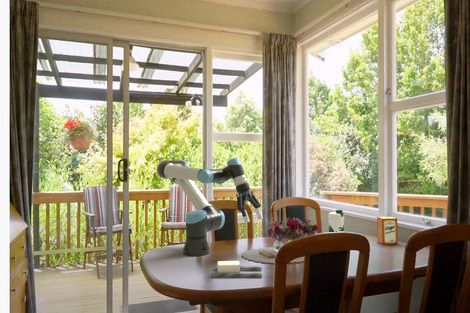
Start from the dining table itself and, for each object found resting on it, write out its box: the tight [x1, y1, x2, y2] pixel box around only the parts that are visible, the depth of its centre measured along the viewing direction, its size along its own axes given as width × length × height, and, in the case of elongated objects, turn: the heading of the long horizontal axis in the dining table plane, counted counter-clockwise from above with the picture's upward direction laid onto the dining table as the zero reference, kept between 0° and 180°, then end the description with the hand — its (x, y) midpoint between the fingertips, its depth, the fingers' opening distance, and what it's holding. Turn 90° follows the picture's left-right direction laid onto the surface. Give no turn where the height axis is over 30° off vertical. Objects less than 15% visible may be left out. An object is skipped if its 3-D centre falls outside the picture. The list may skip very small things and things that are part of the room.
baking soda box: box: [376, 216, 399, 245], centre depth 222 cm, size 10×6×16 cm
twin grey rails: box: [211, 265, 263, 279], centre depth 164 cm, size 22×12×2 cm, turn 87°
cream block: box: [217, 260, 241, 273], centre depth 164 cm, size 10×7×5 cm
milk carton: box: [327, 209, 345, 233], centre depth 229 cm, size 9×9×20 cm
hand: (254, 220), depth 196 cm, fingers open, 13 cm apart
